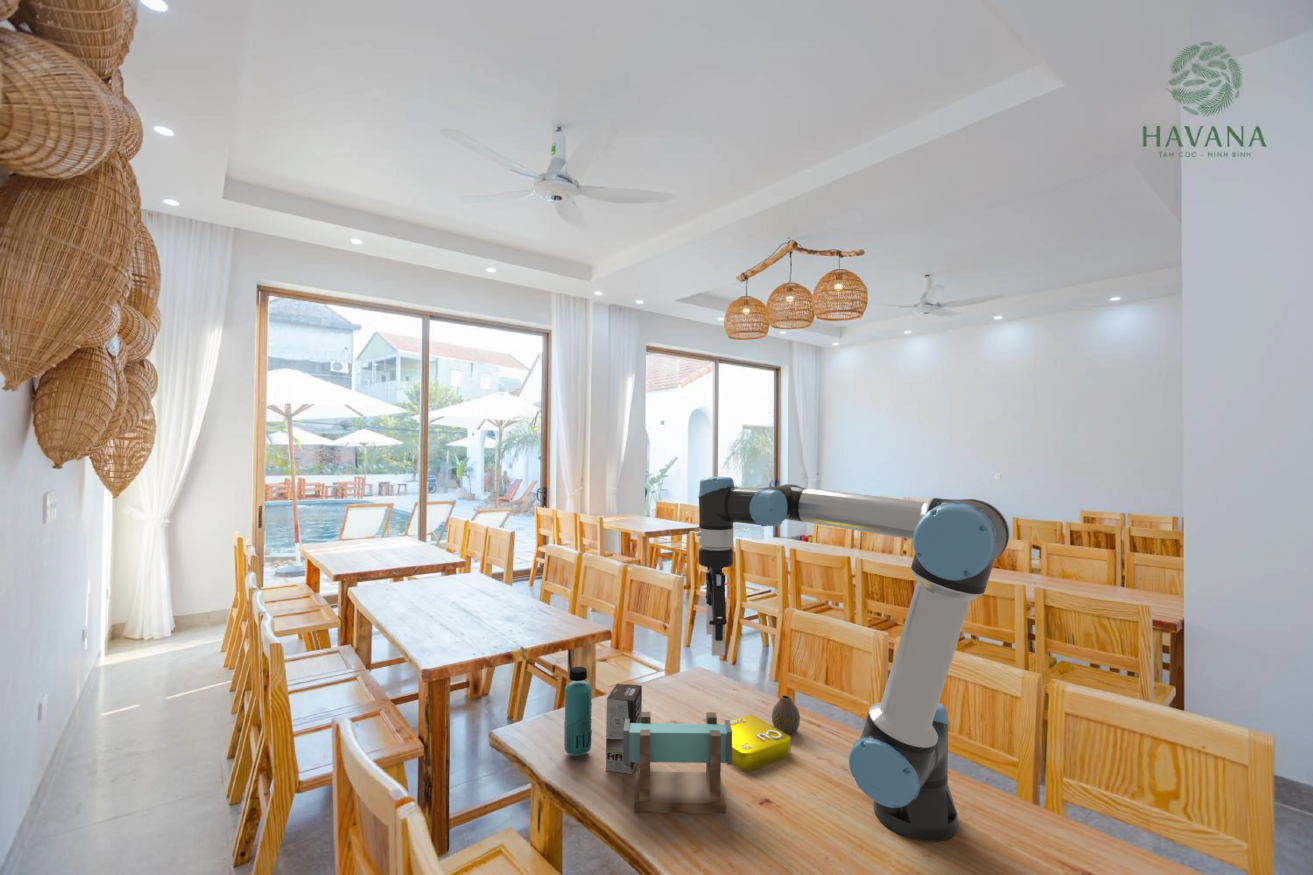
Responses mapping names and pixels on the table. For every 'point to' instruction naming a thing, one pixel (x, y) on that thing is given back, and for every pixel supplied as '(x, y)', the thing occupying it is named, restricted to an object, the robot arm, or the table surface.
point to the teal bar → (676, 742)
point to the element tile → (757, 743)
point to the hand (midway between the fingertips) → (715, 644)
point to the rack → (680, 781)
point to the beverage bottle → (577, 713)
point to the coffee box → (621, 724)
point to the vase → (786, 715)
